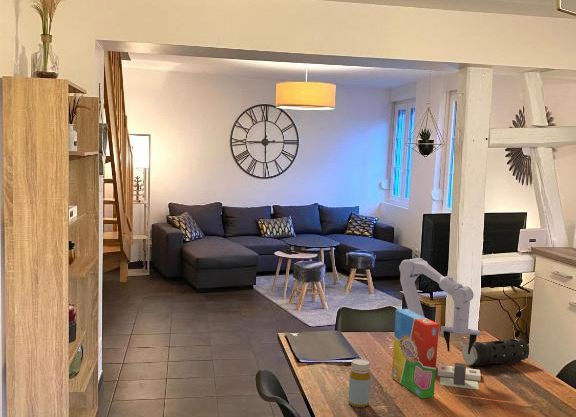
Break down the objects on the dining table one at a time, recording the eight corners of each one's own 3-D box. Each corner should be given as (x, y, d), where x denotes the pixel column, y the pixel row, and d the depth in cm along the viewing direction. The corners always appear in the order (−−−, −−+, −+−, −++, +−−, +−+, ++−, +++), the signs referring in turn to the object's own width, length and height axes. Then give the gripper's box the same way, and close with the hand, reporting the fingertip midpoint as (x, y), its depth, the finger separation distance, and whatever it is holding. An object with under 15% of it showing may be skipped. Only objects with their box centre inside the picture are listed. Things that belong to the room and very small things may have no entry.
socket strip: (437, 376, 238) (438, 370, 237) (437, 370, 244) (438, 364, 244) (480, 382, 234) (480, 375, 233) (479, 375, 240) (479, 369, 240)
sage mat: (439, 385, 228) (440, 384, 228) (440, 378, 236) (440, 377, 236) (478, 391, 225) (478, 389, 225) (477, 383, 232) (477, 381, 232)
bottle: (346, 399, 212) (348, 358, 211) (366, 399, 213) (368, 358, 211) (350, 408, 205) (352, 365, 204) (370, 408, 206) (373, 365, 204)
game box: (391, 378, 234) (394, 309, 232) (403, 376, 236) (407, 308, 234) (422, 399, 215) (426, 324, 213) (434, 397, 217) (439, 323, 215)
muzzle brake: (528, 365, 255) (530, 341, 254) (474, 372, 245) (476, 347, 244) (512, 358, 264) (514, 334, 263) (460, 364, 254) (461, 340, 253)
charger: (453, 384, 229) (454, 366, 228) (453, 380, 233) (454, 362, 232) (464, 385, 228) (465, 367, 227) (464, 381, 232) (465, 363, 231)
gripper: (441, 318, 233) (439, 352, 235) (481, 323, 229) (478, 357, 231) (442, 313, 240) (439, 347, 241) (480, 318, 236) (477, 352, 238)
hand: (458, 352), depth 237 cm, fingers open, 7 cm apart
